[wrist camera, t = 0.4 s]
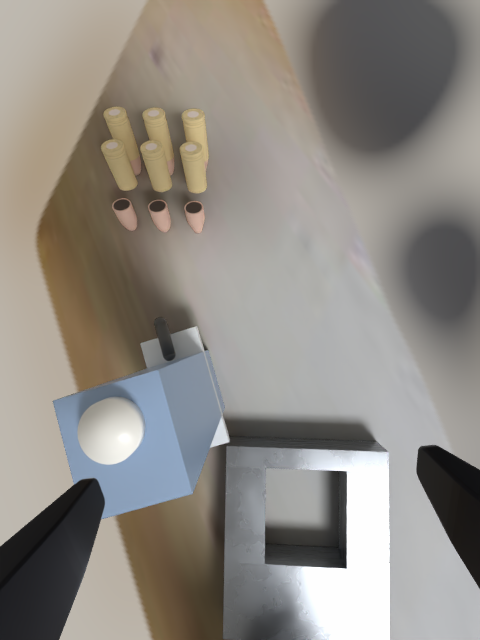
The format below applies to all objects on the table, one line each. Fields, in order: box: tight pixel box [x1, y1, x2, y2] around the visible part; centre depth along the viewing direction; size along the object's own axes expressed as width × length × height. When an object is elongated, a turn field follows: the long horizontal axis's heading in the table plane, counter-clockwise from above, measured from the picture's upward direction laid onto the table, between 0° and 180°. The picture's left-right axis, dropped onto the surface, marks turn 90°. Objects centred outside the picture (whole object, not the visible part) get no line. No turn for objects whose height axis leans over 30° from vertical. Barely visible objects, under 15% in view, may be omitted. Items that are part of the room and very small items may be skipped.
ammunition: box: [101, 107, 209, 233], centre depth 22 cm, size 5×7×8 cm
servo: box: [53, 317, 230, 519], centre depth 17 cm, size 10×4×13 cm, turn 16°
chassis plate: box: [223, 436, 389, 640], centre depth 22 cm, size 14×12×2 cm
